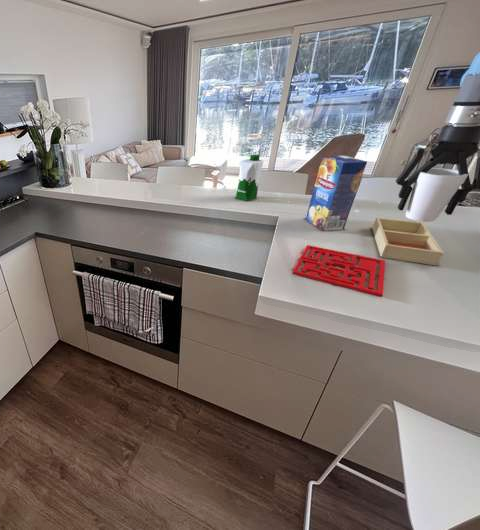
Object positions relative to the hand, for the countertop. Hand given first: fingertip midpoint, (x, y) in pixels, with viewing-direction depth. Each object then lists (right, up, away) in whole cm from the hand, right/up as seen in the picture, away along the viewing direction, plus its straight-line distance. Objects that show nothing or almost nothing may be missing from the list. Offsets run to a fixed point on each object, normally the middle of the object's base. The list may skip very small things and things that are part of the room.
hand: (423, 210), depth 82 cm
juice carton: (-8, 0, +29) cm, 30 cm away
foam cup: (0, -2, +1) cm, 2 cm away
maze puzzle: (-23, -17, +2) cm, 29 cm away
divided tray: (+4, -9, +11) cm, 15 cm away
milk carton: (-24, +18, +61) cm, 68 cm away
